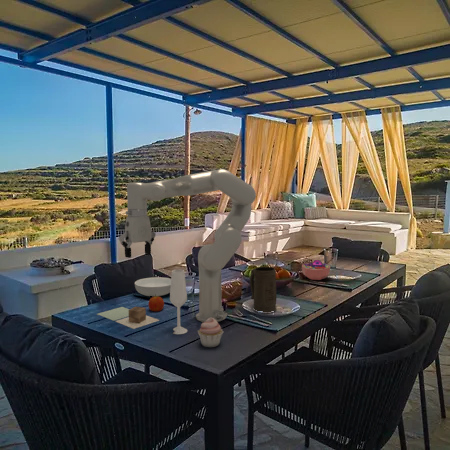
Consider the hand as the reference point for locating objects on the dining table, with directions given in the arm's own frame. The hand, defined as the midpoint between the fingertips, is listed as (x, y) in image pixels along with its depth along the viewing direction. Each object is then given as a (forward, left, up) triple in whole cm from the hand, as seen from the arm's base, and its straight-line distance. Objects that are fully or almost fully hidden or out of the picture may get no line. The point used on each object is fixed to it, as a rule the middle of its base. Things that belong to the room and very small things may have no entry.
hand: (138, 255), depth 159 cm
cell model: (-18, -115, -29) cm, 120 cm away
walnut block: (+2, 0, -28) cm, 28 cm away
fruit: (+7, -14, -29) cm, 33 cm away
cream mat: (+2, 0, -28) cm, 28 cm away
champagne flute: (-18, -5, -29) cm, 34 cm away
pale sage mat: (+16, 0, -28) cm, 32 cm away
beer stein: (-26, -48, -29) cm, 62 cm away
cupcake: (-36, -4, -29) cm, 46 cm away
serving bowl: (+29, -31, -29) cm, 52 cm away
